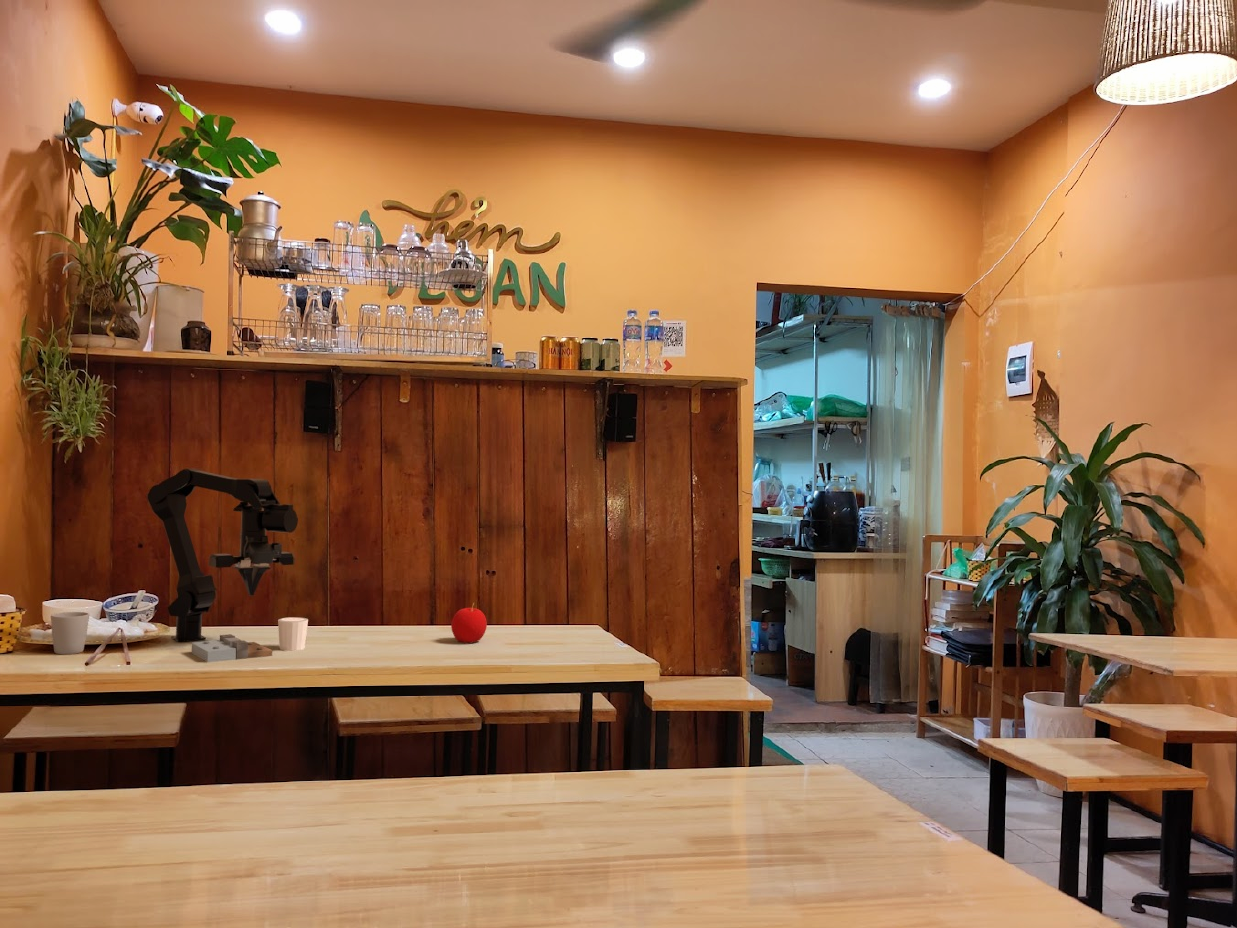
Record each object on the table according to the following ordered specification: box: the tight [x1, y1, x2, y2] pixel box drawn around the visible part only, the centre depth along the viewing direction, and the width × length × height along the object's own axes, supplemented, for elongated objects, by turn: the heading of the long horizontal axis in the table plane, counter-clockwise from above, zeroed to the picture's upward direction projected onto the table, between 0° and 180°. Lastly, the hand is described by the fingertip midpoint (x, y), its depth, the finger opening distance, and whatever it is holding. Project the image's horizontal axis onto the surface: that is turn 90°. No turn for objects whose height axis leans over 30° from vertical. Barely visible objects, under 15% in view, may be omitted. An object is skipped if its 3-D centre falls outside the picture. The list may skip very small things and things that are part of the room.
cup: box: [50, 611, 90, 655], centre depth 214 cm, size 8×10×8 cm
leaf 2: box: [219, 633, 273, 660], centre depth 219 cm, size 8×12×4 cm, turn 40°
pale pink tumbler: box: [277, 616, 309, 652], centre depth 226 cm, size 7×7×7 cm
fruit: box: [451, 602, 488, 644], centre depth 243 cm, size 9×9×10 cm
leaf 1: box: [191, 636, 242, 663], centre depth 215 cm, size 8×12×4 cm
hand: (251, 595), depth 228 cm, fingers closed
